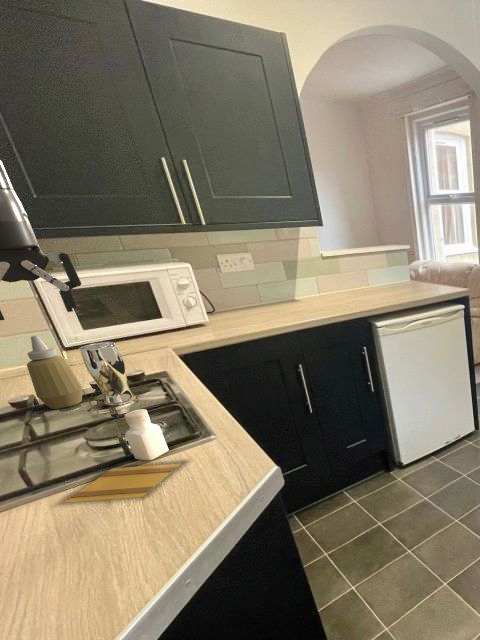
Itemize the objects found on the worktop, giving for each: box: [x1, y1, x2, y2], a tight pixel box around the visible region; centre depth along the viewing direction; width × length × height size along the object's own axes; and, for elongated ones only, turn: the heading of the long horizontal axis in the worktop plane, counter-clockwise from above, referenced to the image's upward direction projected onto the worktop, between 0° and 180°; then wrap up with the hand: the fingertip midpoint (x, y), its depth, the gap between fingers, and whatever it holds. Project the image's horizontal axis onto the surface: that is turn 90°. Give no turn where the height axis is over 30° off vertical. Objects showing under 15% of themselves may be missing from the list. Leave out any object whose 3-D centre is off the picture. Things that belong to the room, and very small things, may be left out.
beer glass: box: [78, 341, 137, 407], centre depth 105 cm, size 7×7×15 cm
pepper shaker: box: [124, 408, 170, 461], centre depth 79 cm, size 4×4×10 cm
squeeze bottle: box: [26, 335, 83, 410], centre depth 103 cm, size 8×8×18 cm
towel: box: [64, 463, 181, 504], centre depth 73 cm, size 12×10×1 cm
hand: (37, 315), depth 75 cm, fingers open, 8 cm apart
